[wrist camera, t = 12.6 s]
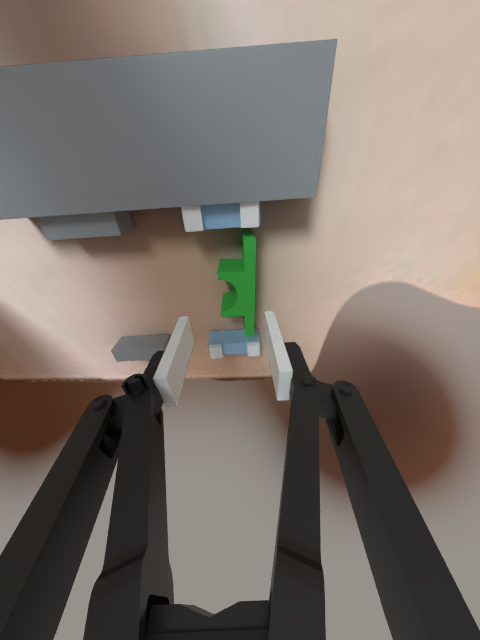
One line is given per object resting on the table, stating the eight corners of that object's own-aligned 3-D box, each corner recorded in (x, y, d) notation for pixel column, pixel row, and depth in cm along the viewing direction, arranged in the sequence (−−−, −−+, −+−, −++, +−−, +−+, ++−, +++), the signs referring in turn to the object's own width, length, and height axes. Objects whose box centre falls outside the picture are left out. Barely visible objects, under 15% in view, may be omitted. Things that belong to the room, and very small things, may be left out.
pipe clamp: (217, 231, 21) (214, 239, 17) (252, 230, 21) (256, 238, 18) (225, 317, 27) (223, 338, 24) (251, 316, 28) (254, 337, 24)
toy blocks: (104, 348, 30) (87, 368, 27) (-44, 100, 15) (-121, 76, 12) (288, 337, 29) (295, 356, 26) (314, 72, 15) (337, 38, 12)
